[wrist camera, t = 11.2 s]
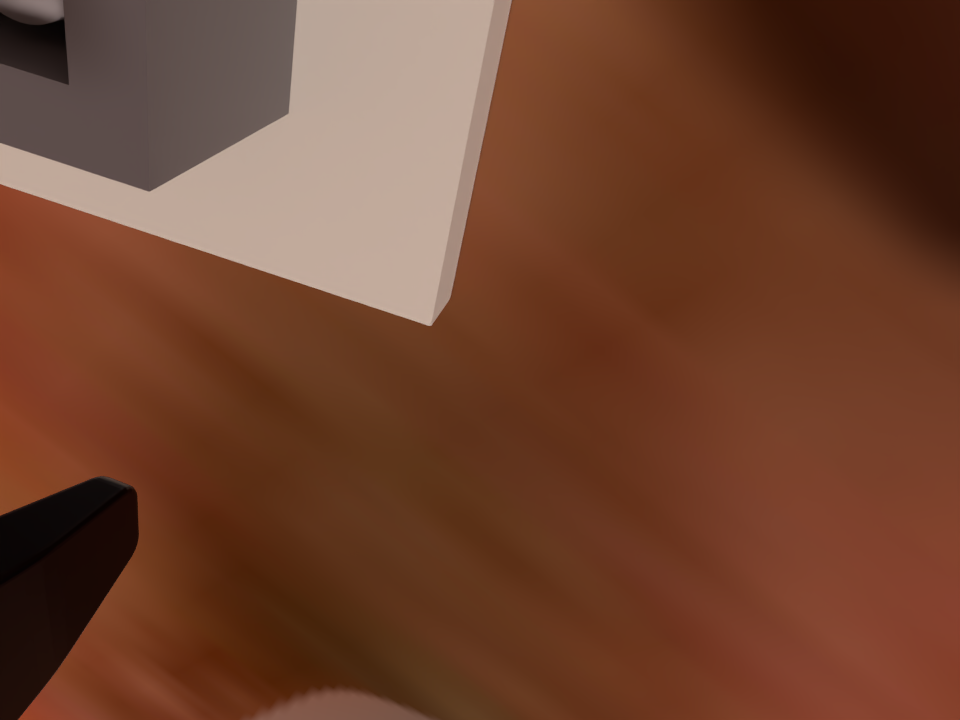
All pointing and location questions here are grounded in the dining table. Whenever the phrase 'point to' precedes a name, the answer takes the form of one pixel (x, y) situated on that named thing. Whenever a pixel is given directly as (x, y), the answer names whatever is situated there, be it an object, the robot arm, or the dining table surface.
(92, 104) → the grey box housing
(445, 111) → the base plate
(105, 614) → the dining table surface
